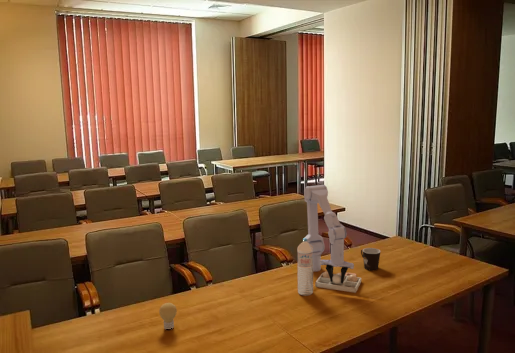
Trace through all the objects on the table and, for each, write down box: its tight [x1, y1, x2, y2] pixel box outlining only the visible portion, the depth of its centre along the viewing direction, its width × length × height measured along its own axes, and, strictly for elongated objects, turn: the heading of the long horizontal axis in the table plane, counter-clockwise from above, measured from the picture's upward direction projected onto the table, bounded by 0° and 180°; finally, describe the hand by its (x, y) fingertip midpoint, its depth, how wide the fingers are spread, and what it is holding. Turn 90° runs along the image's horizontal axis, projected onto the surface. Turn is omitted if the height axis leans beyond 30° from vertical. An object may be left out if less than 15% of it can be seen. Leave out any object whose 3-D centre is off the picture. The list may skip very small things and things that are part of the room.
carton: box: [314, 270, 362, 294], centre depth 200 cm, size 18×12×5 cm
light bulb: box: [158, 302, 178, 330], centre depth 166 cm, size 6×6×10 cm
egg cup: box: [345, 272, 357, 276], centre depth 209 cm, size 6×6×2 cm
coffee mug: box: [360, 247, 381, 271], centre depth 219 cm, size 12×9×10 cm
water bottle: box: [296, 238, 314, 297], centre depth 192 cm, size 7×7×25 cm
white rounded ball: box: [332, 273, 341, 285], centre depth 197 cm, size 4×4×4 cm
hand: (337, 281), depth 197 cm, fingers closed on white rounded ball, 4 cm apart
